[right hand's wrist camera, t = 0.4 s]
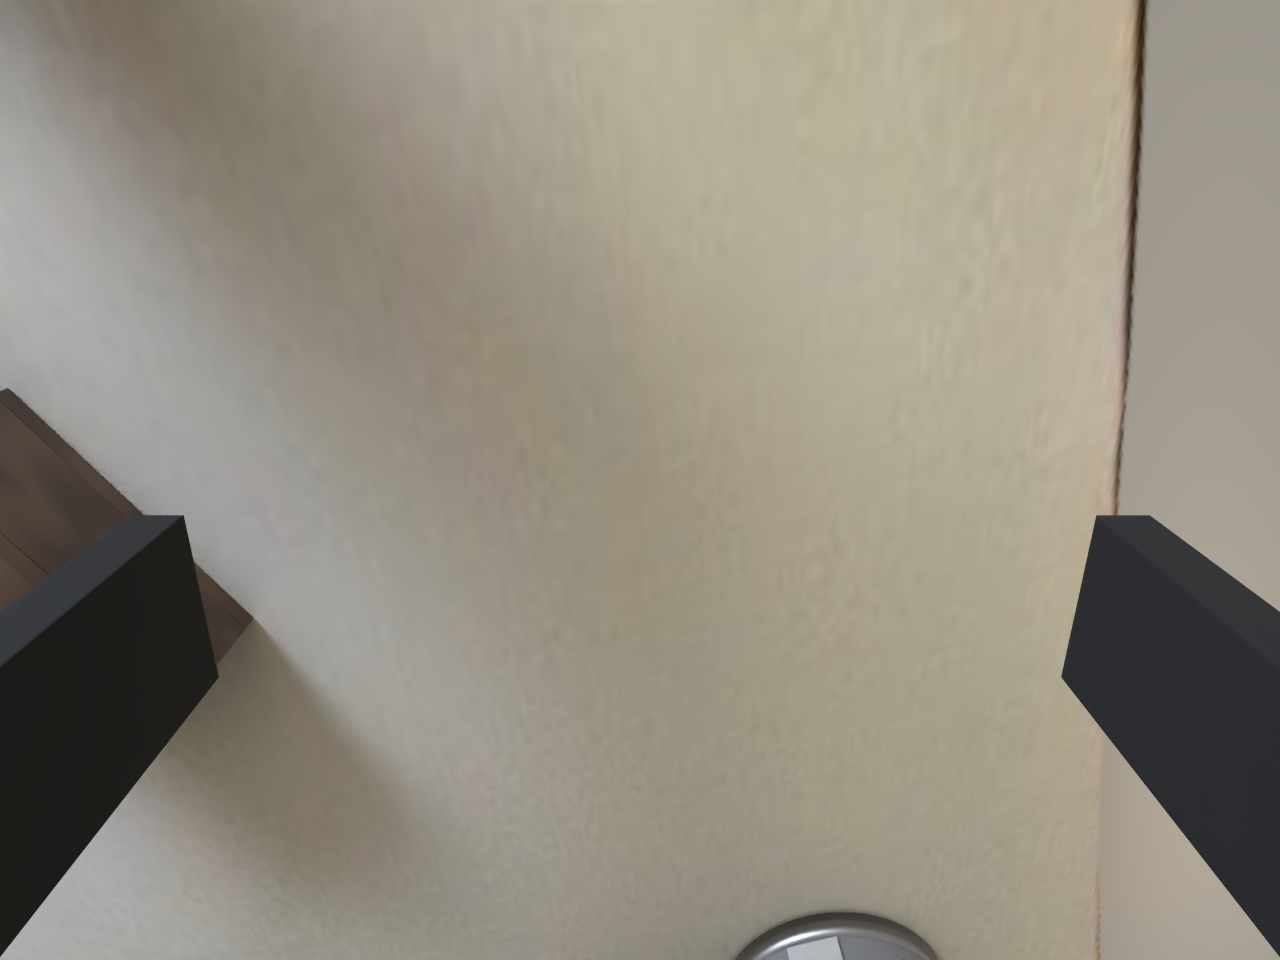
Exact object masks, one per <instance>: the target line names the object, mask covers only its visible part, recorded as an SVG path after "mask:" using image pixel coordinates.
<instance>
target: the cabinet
mask: <svg viewBox="0 0 1280 960" xmlns="http://www.w3.org/2000/svg"><path fill="white" fill-rule="evenodd" d="M130 515H143V514H142V513H140V512H139V511H138V510H137V509H136V508H135V507H134V506H133V505H132V504H131V503H130V502H129V501H128V500H127V499H126V498H124V497H123V496H122V495H121V494H120V493H119V492H118V491H117V490H116V489H115V488H114V487H113V486H112V485H111V484H110V483H108V482H107V481H106V480H105V479H104V478H103V477H102V476H101V475H100V474H99V473H98V472H97V471H96V470H95V469H94V468H93V467H91V466H90V465H89V464H88V463H87V462H86V461H85V460H84V459H83V458H82V457H81V456H80V455H79V454H78V453H77V452H75V451H74V450H73V449H72V448H71V447H70V446H69V445H68V444H67V443H66V442H65V441H64V440H63V439H62V438H61V437H59V436H58V435H57V434H56V433H55V432H54V431H53V430H52V429H51V428H50V427H49V426H48V425H47V424H46V423H45V422H43V421H42V420H41V419H40V418H39V417H38V416H37V415H36V414H35V413H34V412H33V411H32V410H31V409H30V408H29V407H27V406H26V405H25V404H24V403H23V402H22V401H21V400H20V399H19V398H18V397H17V396H16V395H15V394H14V393H13V392H11V391H10V390H9V389H8V388H7V389H4V390H2V391H0V612H1V611H2V610H4V609H5V608H6V607H8V606H9V605H10V604H12V603H13V602H14V601H16V600H17V599H18V598H20V597H21V596H22V595H24V594H25V593H26V592H28V591H29V590H30V589H32V588H33V587H35V586H36V585H37V584H39V583H40V582H41V581H43V580H44V579H45V578H47V577H48V576H49V575H51V574H52V573H53V572H55V571H56V570H57V569H59V568H60V567H62V566H63V565H64V564H66V563H67V562H68V561H70V560H71V559H72V558H74V557H75V556H76V555H78V554H79V553H80V552H82V551H83V550H84V549H86V548H87V547H88V546H90V545H91V544H93V543H94V542H95V541H97V540H98V539H99V538H101V537H102V536H103V535H105V534H106V533H107V532H109V531H110V530H111V529H113V528H114V527H115V526H117V525H118V524H119V523H121V522H122V521H124V520H125V519H126V518H128V517H129V516H130ZM194 566H195V570H196V575H197V580H198V584H199V589H200V593H201V598H202V603H203V607H204V612H205V616H206V621H207V626H208V630H209V635H210V639H211V644H212V649H213V653H214V658H215V662H216V665H217V664H218V663H219V661H220V660H221V659H222V658H223V656H224V655H225V654H226V653H227V651H228V650H229V649H230V648H231V646H232V645H233V644H234V643H235V641H236V640H237V639H238V638H239V636H240V635H241V634H242V632H243V631H244V630H245V629H246V627H247V626H248V625H249V624H250V622H251V621H252V620H253V618H252V617H251V616H250V615H249V614H248V613H247V612H246V611H245V610H244V609H243V608H242V607H241V606H240V605H239V604H238V603H236V602H235V601H234V600H233V599H232V598H231V597H230V596H229V595H228V594H227V593H226V592H225V591H224V590H223V589H222V588H220V587H219V586H218V585H217V584H216V583H215V582H214V581H213V580H212V579H211V578H210V577H209V576H208V575H207V574H206V573H204V572H203V571H202V570H201V569H200V568H199V567H198V566H197V565H196V564H195V563H194Z"/></svg>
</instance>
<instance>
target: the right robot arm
mask: <svg viewBox="0 0 1280 960" xmlns="http://www.w3.org/2000/svg"><path fill="white" fill-rule="evenodd" d="M218 677H219V676H218V672H217V667H216V662H215V658H214V653H213V649H212V644H211V639H210V635H209V630H208V626H207V621H206V616H205V612H204V607H203V603H202V598H201V593H200V589H199V584H198V580H197V575H196V570H195V566H194V561H193V557H192V552H191V547H190V543H189V538H188V534H187V529H186V524H185V520H184V515H130V516H129V517H128V518H126V519H125V520H124V521H122V522H121V523H119V524H118V525H117V526H115V527H114V528H113V529H111V530H110V531H109V532H107V533H106V534H105V535H103V536H102V537H101V538H99V539H98V540H97V541H95V542H94V543H93V544H91V545H90V546H88V547H87V548H86V549H84V550H83V551H82V552H80V553H79V554H78V555H76V556H75V557H74V558H72V559H71V560H70V561H68V562H67V563H66V564H64V565H63V566H62V567H60V568H59V569H57V570H56V571H55V572H53V573H52V574H51V575H49V576H48V577H47V578H45V579H44V580H43V581H41V582H40V583H39V584H37V585H36V586H35V587H33V588H32V589H30V590H29V591H28V592H26V593H25V594H24V595H22V596H21V597H20V598H18V599H17V600H16V601H14V602H13V603H12V604H10V605H9V606H8V607H6V608H5V609H4V610H2V611H1V612H0V957H1V955H2V954H3V953H4V951H5V950H6V949H7V948H8V946H9V945H10V944H11V942H12V941H13V940H14V939H15V937H16V936H17V935H18V933H19V932H20V931H21V930H22V928H23V927H24V926H25V925H26V923H27V922H28V921H29V919H30V918H31V917H32V916H33V914H34V913H35V912H36V910H37V909H38V908H39V907H40V905H41V904H42V903H43V901H44V900H45V899H46V898H47V896H48V895H49V894H50V892H51V891H52V890H53V889H54V887H55V886H56V885H57V884H58V882H59V881H60V880H61V878H62V877H63V876H64V875H65V873H66V872H67V871H68V869H69V868H70V867H71V866H72V864H73V863H74V862H75V860H76V859H77V858H78V857H79V855H80V854H81V853H82V852H83V850H84V849H85V848H86V846H87V845H88V844H89V843H90V841H91V840H92V839H93V837H94V836H95V835H96V834H97V832H98V831H99V830H100V828H101V827H102V826H103V825H104V823H105V822H106V821H107V819H108V818H109V817H110V816H111V814H112V813H113V812H114V811H115V809H116V808H117V807H118V805H119V804H120V803H121V802H122V800H123V799H124V798H125V796H126V795H127V794H128V793H129V791H130V790H131V789H132V787H133V786H134V785H135V784H136V782H137V781H138V780H139V779H140V777H141V776H142V775H143V773H144V772H145V771H146V770H147V768H148V767H149V766H150V764H151V763H152V762H153V761H154V759H155V758H156V757H157V755H158V754H159V753H160V752H161V750H162V749H163V748H164V746H165V745H166V744H167V743H168V741H169V740H170V739H171V738H172V736H173V735H174V734H175V732H176V731H177V730H178V729H179V727H180V726H181V725H182V723H183V722H184V721H185V720H186V718H187V717H188V716H189V714H190V713H191V712H192V711H193V709H194V708H195V707H196V706H197V704H198V703H199V702H200V700H201V699H202V698H203V697H204V695H205V694H206V693H207V691H208V690H209V689H210V688H211V686H212V685H213V684H214V682H215V681H216V680H217V679H218ZM1061 677H1062V679H1063V680H1064V681H1065V682H1066V684H1067V685H1068V686H1069V688H1070V689H1071V690H1072V691H1073V693H1074V694H1075V695H1076V697H1077V698H1078V699H1079V700H1080V702H1081V703H1082V704H1083V706H1084V707H1085V708H1086V709H1087V711H1088V712H1089V713H1090V714H1091V716H1092V717H1093V718H1094V720H1095V721H1096V722H1097V723H1098V725H1099V726H1100V727H1101V729H1102V730H1103V731H1104V732H1105V734H1106V735H1107V736H1108V738H1109V739H1110V740H1111V741H1112V743H1113V744H1114V745H1115V746H1116V748H1117V749H1118V750H1119V752H1120V753H1121V754H1122V755H1123V757H1124V758H1125V759H1126V761H1127V762H1128V763H1129V764H1130V766H1131V767H1132V768H1133V770H1134V771H1135V772H1136V773H1137V775H1138V776H1139V777H1140V779H1141V780H1142V781H1143V782H1144V784H1145V785H1146V786H1147V787H1148V789H1149V790H1150V791H1151V793H1152V794H1153V795H1154V796H1155V798H1156V799H1157V800H1158V801H1159V803H1160V804H1161V805H1162V807H1163V808H1164V809H1165V810H1166V812H1167V813H1168V814H1169V816H1170V817H1171V818H1172V819H1173V821H1174V822H1175V823H1176V825H1177V826H1178V827H1179V828H1180V830H1181V831H1182V832H1183V834H1184V835H1185V836H1186V837H1187V839H1188V840H1189V841H1190V843H1191V844H1192V845H1193V846H1194V848H1195V849H1196V850H1197V851H1198V853H1199V854H1200V855H1201V857H1202V858H1203V859H1204V860H1205V862H1206V863H1207V864H1208V866H1209V867H1210V868H1211V869H1212V871H1213V872H1214V873H1215V875H1216V876H1217V877H1218V878H1219V880H1220V881H1221V882H1222V884H1223V885H1224V886H1225V887H1226V889H1227V890H1228V891H1229V892H1230V894H1231V895H1232V896H1233V898H1234V899H1235V900H1236V901H1237V903H1238V904H1239V905H1240V907H1241V908H1242V909H1243V910H1244V912H1245V913H1246V914H1247V915H1248V917H1249V918H1250V919H1251V921H1252V922H1253V923H1254V925H1255V926H1256V927H1257V928H1258V930H1259V931H1260V932H1261V933H1262V935H1263V936H1264V937H1265V939H1266V940H1267V941H1268V942H1269V944H1270V945H1271V946H1272V947H1273V949H1274V950H1275V951H1276V953H1277V954H1278V955H1279V956H1280V612H1279V611H1278V610H1276V609H1275V608H1274V607H1272V606H1271V605H1270V604H1268V603H1267V602H1266V601H1264V600H1263V599H1262V598H1260V597H1259V596H1258V595H1256V594H1255V593H1254V592H1252V591H1251V590H1249V589H1248V588H1247V587H1245V586H1244V585H1243V584H1241V583H1240V582H1239V581H1237V580H1236V579H1235V578H1233V577H1232V576H1231V575H1229V574H1228V573H1227V572H1225V571H1224V570H1222V569H1221V568H1220V567H1218V566H1217V565H1216V564H1214V563H1213V562H1212V561H1210V560H1209V559H1208V558H1206V557H1205V556H1204V555H1202V554H1201V553H1200V552H1198V551H1197V550H1196V549H1194V548H1193V547H1192V546H1190V545H1189V544H1187V543H1186V542H1185V541H1183V540H1182V539H1181V538H1179V537H1178V536H1177V535H1175V534H1174V533H1173V532H1171V531H1170V530H1169V529H1167V528H1166V527H1165V526H1163V525H1162V524H1161V523H1159V522H1158V521H1156V520H1155V519H1154V518H1152V517H1151V516H1149V515H1147V516H1143V515H1139V516H1136V515H1130V516H1129V515H1128V516H1125V515H1124V516H1123V515H1096V520H1095V524H1094V529H1093V534H1092V538H1091V543H1090V547H1089V552H1088V557H1087V561H1086V566H1085V570H1084V575H1083V580H1082V584H1081V589H1080V593H1079V598H1078V603H1077V607H1076V612H1075V616H1074V621H1073V626H1072V630H1071V635H1070V639H1069V644H1068V649H1067V653H1066V658H1065V662H1064V667H1063V672H1062V676H1061ZM735 960H938V959H937V957H936V955H935V953H934V952H933V950H932V949H931V948H930V947H929V945H928V944H927V943H926V942H925V941H924V940H923V939H921V938H920V937H919V936H918V935H916V934H915V933H914V932H912V931H911V930H909V929H907V928H906V927H904V926H902V925H899V924H897V923H895V922H892V921H890V920H887V919H883V918H880V917H876V916H871V915H866V914H858V913H827V914H818V915H813V916H808V917H804V918H800V919H796V920H793V921H790V922H787V923H785V924H782V925H780V926H778V927H776V928H774V929H772V930H770V931H768V932H766V933H765V934H763V935H761V936H760V937H758V938H757V939H756V940H754V941H753V942H752V943H750V944H749V945H748V946H747V947H746V948H745V949H744V950H743V951H742V952H741V953H740V954H739V955H738V957H737V958H736V959H735Z"/></svg>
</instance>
